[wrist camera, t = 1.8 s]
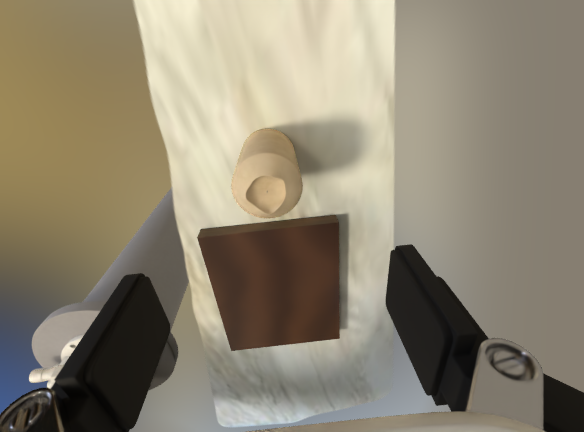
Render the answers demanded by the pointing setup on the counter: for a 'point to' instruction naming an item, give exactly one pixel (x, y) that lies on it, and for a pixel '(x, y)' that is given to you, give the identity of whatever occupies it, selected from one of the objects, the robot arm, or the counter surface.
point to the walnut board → (275, 280)
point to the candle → (267, 175)
